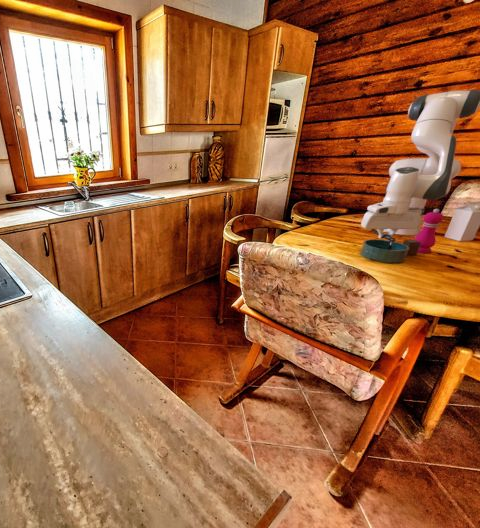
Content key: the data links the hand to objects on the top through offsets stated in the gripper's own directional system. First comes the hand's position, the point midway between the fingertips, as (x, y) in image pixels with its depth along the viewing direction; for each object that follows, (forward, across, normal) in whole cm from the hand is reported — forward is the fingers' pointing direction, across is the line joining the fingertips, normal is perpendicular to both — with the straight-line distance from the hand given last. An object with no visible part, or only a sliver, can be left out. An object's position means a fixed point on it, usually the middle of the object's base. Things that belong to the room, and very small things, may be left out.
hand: (384, 238), depth 124 cm
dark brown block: (+8, -13, -2) cm, 16 cm away
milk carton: (+9, -50, -26) cm, 57 cm away
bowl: (+8, 0, +2) cm, 9 cm away
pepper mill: (+9, -21, -7) cm, 24 cm away
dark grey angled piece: (+6, 0, -1) cm, 7 cm away
